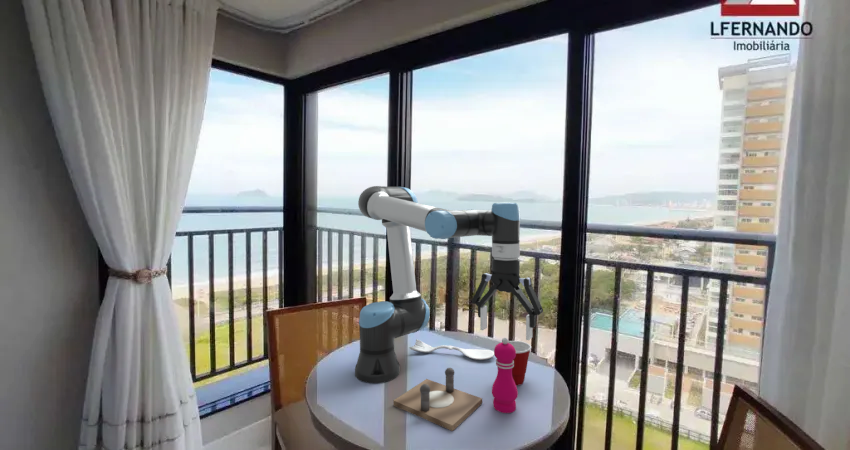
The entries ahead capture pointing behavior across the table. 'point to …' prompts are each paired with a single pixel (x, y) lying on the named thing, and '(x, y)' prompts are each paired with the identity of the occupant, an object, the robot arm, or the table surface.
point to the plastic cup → (520, 360)
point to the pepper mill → (504, 378)
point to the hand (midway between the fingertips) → (505, 333)
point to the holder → (439, 402)
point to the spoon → (469, 353)
